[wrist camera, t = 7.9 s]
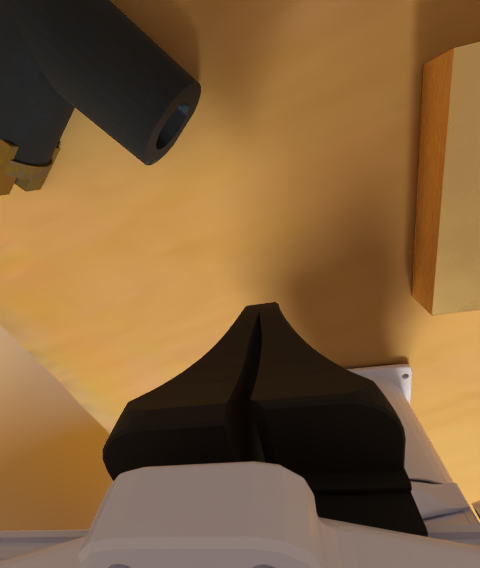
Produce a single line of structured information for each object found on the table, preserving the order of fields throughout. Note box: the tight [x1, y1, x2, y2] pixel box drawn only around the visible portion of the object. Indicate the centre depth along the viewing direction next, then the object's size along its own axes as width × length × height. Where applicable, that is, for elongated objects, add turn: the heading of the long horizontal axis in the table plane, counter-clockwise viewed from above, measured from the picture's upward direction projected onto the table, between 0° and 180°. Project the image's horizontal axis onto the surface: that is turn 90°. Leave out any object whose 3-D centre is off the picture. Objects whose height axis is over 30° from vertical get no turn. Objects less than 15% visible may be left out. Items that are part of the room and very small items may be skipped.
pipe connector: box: [0, 0, 201, 195], centre depth 15 cm, size 12×5×15 cm
